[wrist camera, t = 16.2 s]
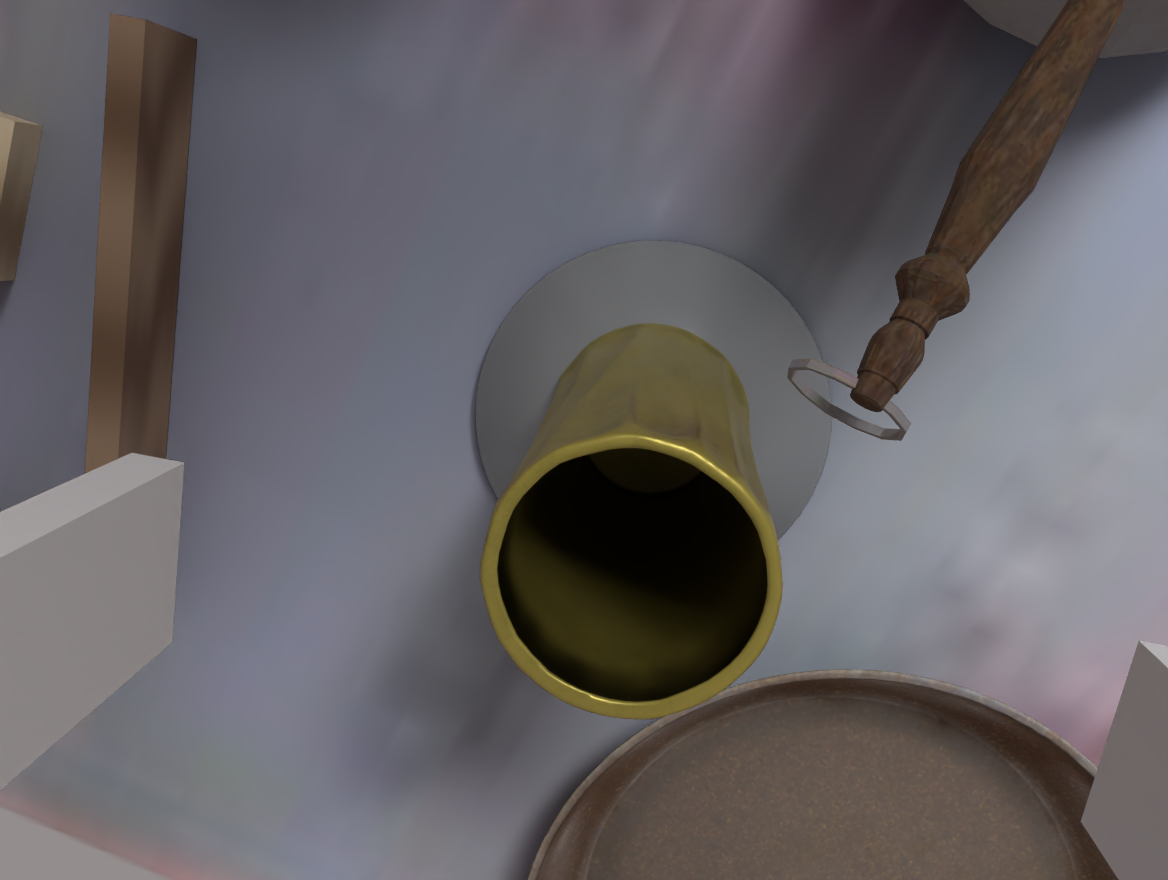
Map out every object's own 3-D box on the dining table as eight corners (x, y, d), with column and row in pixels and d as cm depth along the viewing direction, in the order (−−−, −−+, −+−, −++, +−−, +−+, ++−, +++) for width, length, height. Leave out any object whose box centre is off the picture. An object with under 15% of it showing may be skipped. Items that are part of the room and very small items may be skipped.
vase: (585, 296, 30) (510, 357, 16) (778, 359, 30) (866, 474, 16) (527, 480, 32) (413, 681, 18) (711, 541, 32) (741, 791, 18)
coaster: (504, 212, 30) (502, 211, 30) (865, 273, 30) (868, 274, 29) (456, 551, 33) (453, 555, 32) (789, 613, 32) (790, 618, 32)
